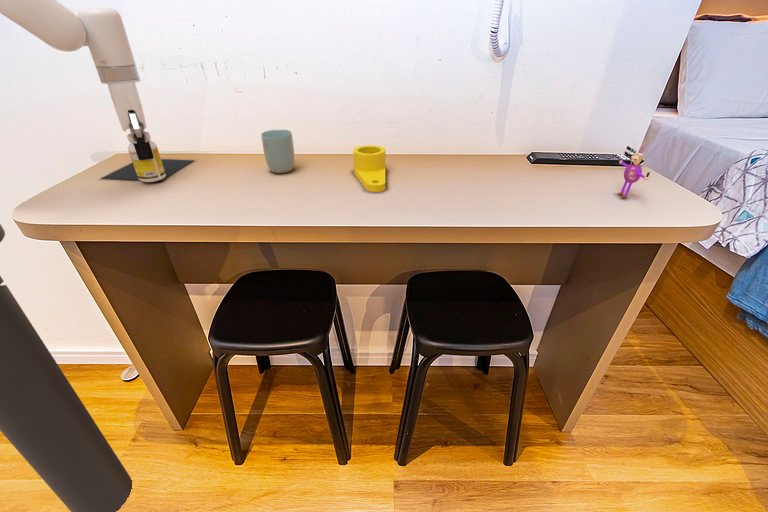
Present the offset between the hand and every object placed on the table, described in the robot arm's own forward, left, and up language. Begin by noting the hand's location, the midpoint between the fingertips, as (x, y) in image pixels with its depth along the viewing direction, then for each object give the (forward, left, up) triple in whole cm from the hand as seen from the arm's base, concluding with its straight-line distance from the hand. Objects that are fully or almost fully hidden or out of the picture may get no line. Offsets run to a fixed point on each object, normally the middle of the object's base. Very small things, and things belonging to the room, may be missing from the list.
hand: (145, 154), depth 94 cm
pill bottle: (0, 0, -6) cm, 6 cm away
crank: (+55, +8, -7) cm, 56 cm away
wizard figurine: (+115, +3, -7) cm, 115 cm away
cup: (+30, +11, -7) cm, 32 cm away
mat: (-6, +8, -7) cm, 12 cm away
